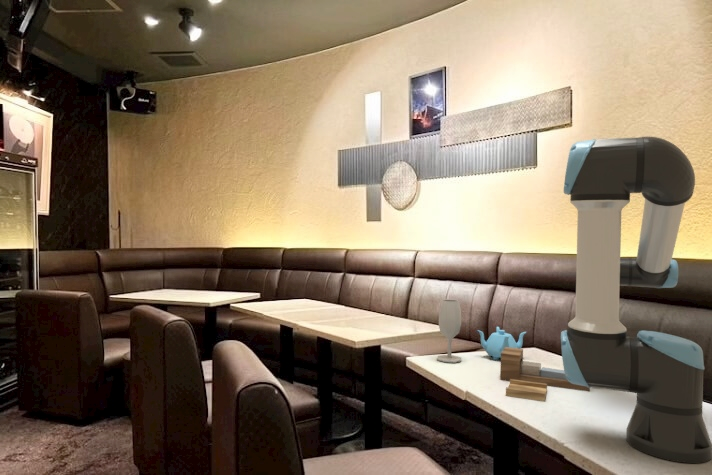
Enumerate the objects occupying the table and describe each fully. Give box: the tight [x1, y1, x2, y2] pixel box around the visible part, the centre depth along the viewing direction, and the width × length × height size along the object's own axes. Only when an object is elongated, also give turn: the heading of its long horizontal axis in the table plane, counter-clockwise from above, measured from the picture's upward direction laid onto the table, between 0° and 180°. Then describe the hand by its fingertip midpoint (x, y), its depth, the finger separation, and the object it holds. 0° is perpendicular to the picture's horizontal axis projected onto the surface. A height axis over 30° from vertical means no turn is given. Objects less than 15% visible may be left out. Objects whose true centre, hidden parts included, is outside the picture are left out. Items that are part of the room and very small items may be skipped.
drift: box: [540, 367, 567, 380], centre depth 147 cm, size 12×4×4 cm, turn 59°
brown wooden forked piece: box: [499, 347, 590, 392], centre depth 149 cm, size 10×24×8 cm, turn 66°
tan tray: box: [505, 379, 548, 402], centre depth 137 cm, size 10×10×2 cm
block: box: [520, 360, 542, 377], centre depth 152 cm, size 11×5×5 cm, turn 64°
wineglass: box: [436, 298, 462, 364], centre depth 172 cm, size 9×9×21 cm
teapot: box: [476, 326, 527, 361], centre depth 176 cm, size 13×13×10 cm
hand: (594, 382), depth 143 cm, fingers closed
